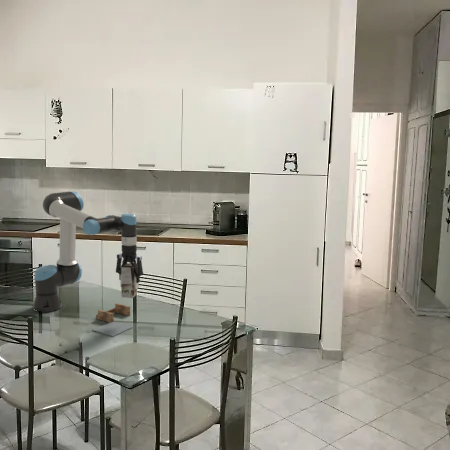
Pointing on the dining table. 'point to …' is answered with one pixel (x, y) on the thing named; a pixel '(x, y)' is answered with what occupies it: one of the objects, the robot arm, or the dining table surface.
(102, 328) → the rubber mat
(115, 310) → the slot rack
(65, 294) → the dining table surface
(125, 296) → the coffee box
